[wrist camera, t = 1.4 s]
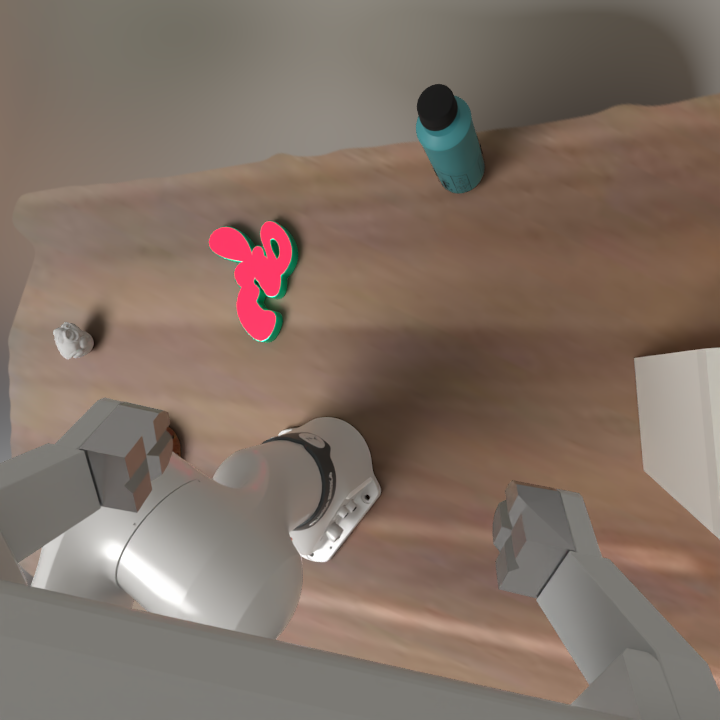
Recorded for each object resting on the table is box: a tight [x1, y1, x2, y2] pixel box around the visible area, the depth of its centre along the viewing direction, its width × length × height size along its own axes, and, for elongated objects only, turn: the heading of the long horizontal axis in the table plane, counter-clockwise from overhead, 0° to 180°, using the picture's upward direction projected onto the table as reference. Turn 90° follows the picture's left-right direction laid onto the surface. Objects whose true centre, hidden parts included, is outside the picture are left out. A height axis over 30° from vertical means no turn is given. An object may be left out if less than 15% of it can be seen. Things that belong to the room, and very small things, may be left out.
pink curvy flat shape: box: [209, 221, 298, 343], centre depth 77 cm, size 20×16×2 cm
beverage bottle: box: [416, 84, 485, 193], centre depth 57 cm, size 6×7×20 cm
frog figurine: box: [53, 322, 94, 359], centre depth 88 cm, size 6×7×7 cm
